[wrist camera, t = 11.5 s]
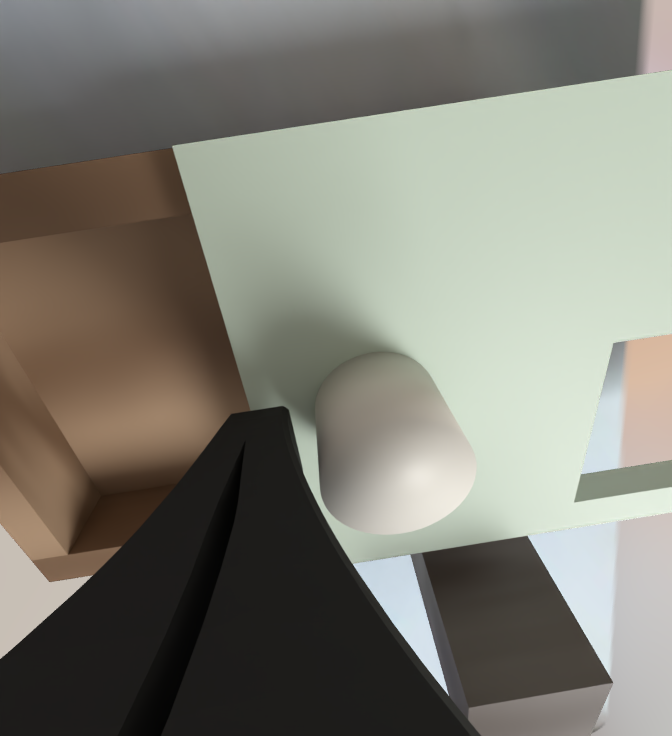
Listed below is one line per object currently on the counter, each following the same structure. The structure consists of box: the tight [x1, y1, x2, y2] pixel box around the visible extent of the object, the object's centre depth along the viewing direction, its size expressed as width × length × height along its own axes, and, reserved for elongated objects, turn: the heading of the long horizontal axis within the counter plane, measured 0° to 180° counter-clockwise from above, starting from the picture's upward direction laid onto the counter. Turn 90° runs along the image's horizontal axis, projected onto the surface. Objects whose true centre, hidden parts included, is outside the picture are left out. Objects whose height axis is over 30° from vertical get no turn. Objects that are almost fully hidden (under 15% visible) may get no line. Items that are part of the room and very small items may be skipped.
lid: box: [172, 70, 672, 564], centre depth 9 cm, size 12×16×4 cm
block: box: [410, 536, 613, 736], centre depth 15 cm, size 4×4×8 cm
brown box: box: [0, 148, 251, 582], centre depth 12 cm, size 12×16×4 cm
